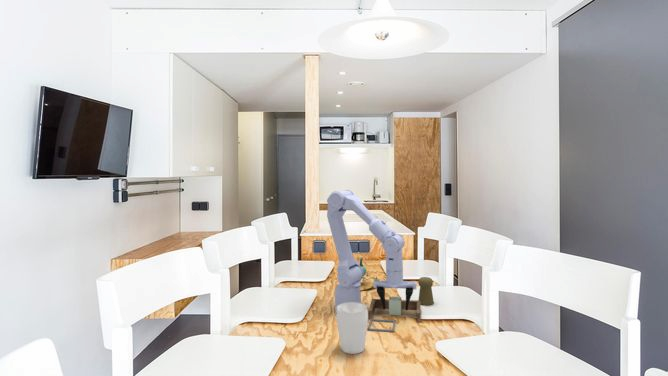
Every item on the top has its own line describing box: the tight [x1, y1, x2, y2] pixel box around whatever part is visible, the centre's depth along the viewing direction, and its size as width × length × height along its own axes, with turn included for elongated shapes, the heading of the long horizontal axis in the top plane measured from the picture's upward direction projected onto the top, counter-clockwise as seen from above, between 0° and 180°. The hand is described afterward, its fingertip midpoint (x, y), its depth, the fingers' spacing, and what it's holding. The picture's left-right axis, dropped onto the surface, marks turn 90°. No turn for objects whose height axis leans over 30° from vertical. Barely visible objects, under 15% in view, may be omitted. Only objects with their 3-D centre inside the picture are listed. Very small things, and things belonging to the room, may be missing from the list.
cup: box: [335, 302, 369, 355], centre depth 106 cm, size 9×9×12 cm
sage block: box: [388, 296, 402, 315], centre depth 129 cm, size 4×4×5 cm
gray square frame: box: [366, 318, 397, 333], centre depth 118 cm, size 8×8×2 cm
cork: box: [417, 276, 435, 307], centre depth 138 cm, size 6×6×11 cm
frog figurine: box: [359, 257, 381, 291], centre depth 163 cm, size 10×18×15 cm, turn 86°
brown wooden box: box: [367, 298, 422, 323], centre depth 128 cm, size 17×12×4 cm
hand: (395, 308), depth 129 cm, fingers open, 7 cm apart
